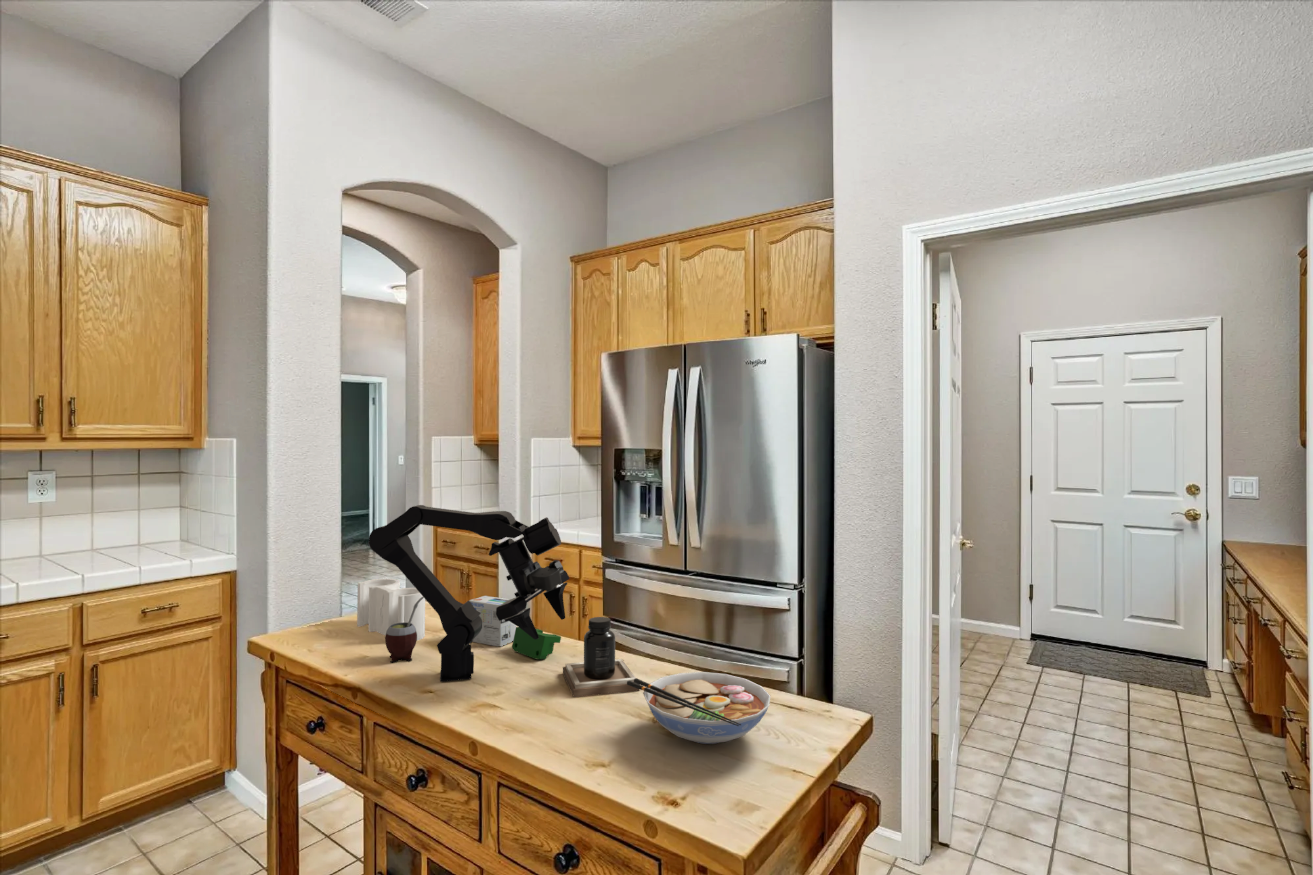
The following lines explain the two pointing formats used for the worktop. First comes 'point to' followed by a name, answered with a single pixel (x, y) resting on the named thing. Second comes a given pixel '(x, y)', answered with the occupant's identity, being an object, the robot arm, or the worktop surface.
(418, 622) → the white piece
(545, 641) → the clamp
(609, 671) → the supplement bottle
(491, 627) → the light bulb box
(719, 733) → the ramen bowl
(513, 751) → the worktop surface
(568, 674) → the beige square tray
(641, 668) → the worktop surface
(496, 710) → the worktop surface
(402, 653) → the mate gourd
